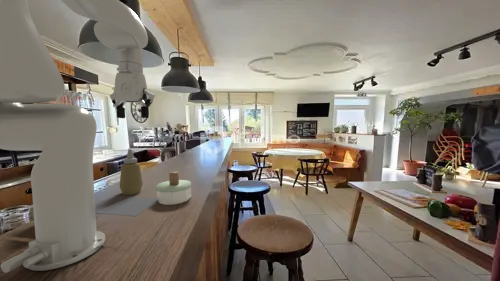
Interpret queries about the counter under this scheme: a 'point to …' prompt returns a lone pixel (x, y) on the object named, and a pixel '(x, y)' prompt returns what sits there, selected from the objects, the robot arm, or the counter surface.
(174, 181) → the lid
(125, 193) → the squeeze bottle
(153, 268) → the counter surface
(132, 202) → the mat
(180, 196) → the bowl
